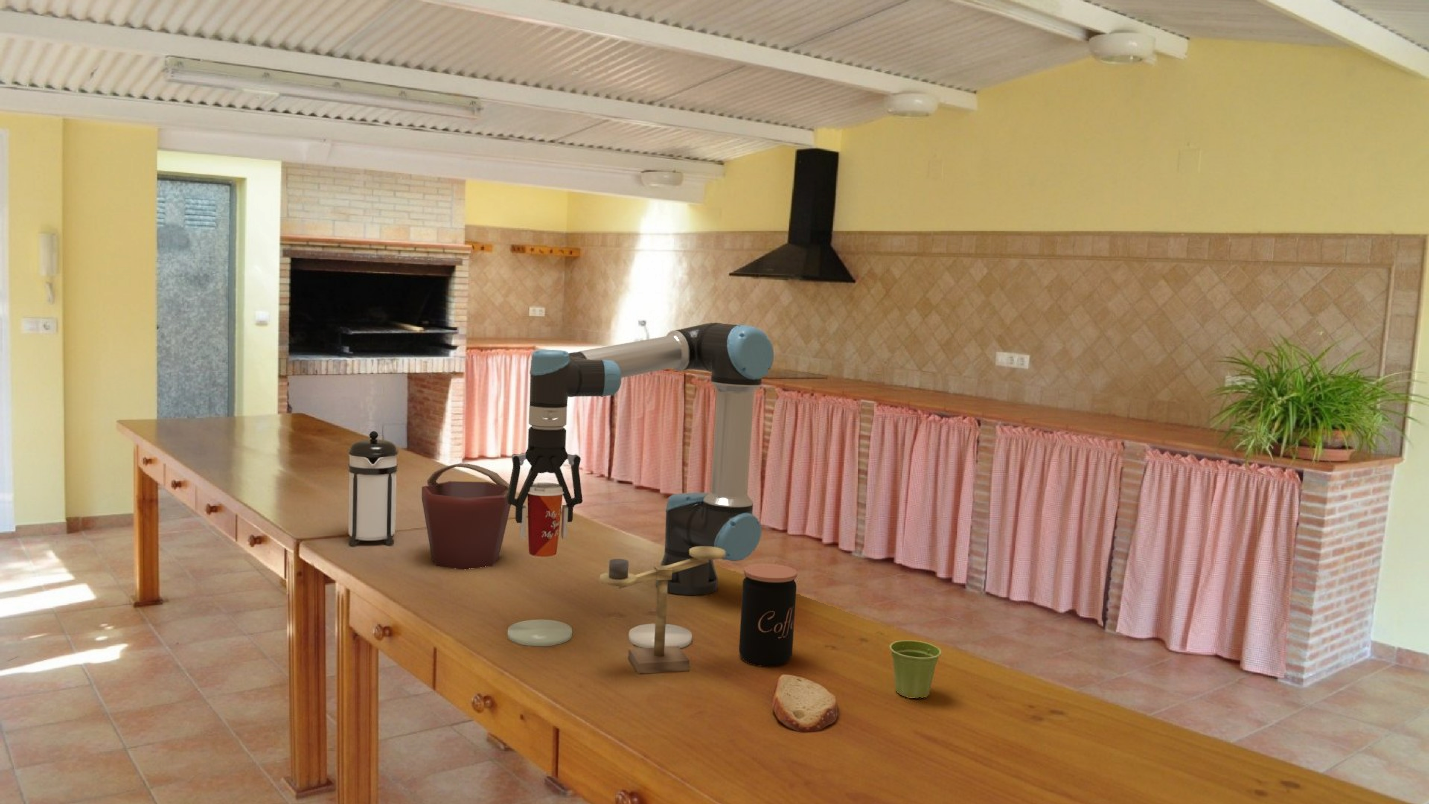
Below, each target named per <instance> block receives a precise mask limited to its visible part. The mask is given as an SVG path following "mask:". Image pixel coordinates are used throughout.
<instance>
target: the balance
mask: <svg viewBox="0 0 1429 804" xmlns="http://www.w3.org/2000/svg"><path fill="white" fill-rule="evenodd" d="M725 552H726V551H725V550H723V549H721V548H717V547H710V546H698V547H693V548H690V550H689V555H690V556H692V557H694V558H691V559H687V560H684V561H681V562H677V563H674V564H671V565H667V566H660V565H653V566H654V567H653V569H652V570H646V571H644V572H641V573H638V574H633V573H632V572H631V573H630V572H629V563H630V562H629V560H627V559H623V558H612V559H610V560H609V562H608V572H604V573H602V574H600V575H599V583H600V584H603V585H606V586H610V587H611V586H612V587H618V589H620V590H621V589H623V588H627V587H631V586H633V585H637V584H641V583H644V582H648V581H650V580H654V579H655V580H656V579H657V587H656V601H655V603H656V604H655V623H654V624H655V639H654V648H642V647H638V648H628V661H629V662H630V663H631V665H632V667H633V668H634V669H635V671H636V673H637V674H638V675H639V674H640V673H643V674H656V673H670V672H671V673H672V672H689V671H690V659H689V658H688V657H687V655H686V654H685V653H684V651H683V650H682V648H679V646H672V647H664V646H665V627H666V624H667V623H666V622H667V607H668V605H667V604H668V601H667V600H668V592H667V587H668V580H672V573H674V572H678V571H681V570H684V569H688V568H691V567H694V566H698V565H701V564H704V563H708V562H709V560H713V561H714V560H720V559H721V558H724V557H725ZM721 560H722V559H721ZM640 675H641V674H640Z"/></svg>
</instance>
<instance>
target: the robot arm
mask: <svg viewBox="0 0 1429 804" xmlns="http://www.w3.org/2000/svg"><path fill="white" fill-rule="evenodd" d="M774 356H775V353H774V347H773V343H772V341H771V340H770V338H769V337H768V335H767V334H766V333H765V331H763V330H762V329H760V328H758V327H755V326H750V325H746V324H730V323H722V322H721V323H720V322H708V323H703V324H698V325H693V326H689V327H685V328H679V329H675V330H670V331H669V332H668V333H667V334H666V336H665V335H664V336H660V337H654V338H648V339H643V340H636V341H630V342H626V343H619V344H614V345H608V346H602V347H596V348H591V349H585V350H579V351H574V352H568V351H566V350H561V349H536V350H535V351H533V352H532V354H531V359H530V369H529V376H530V377H529V378H530V379H529V406H528V407H529V411H528V424H529V425H530V427H529V428H528V432H527V433H528V434H527V435H528V436H527V448H526V451H525V453H522V454H521V453H520V454H516V453H515V454H512V455H511V461H512V468H511V469H512V470H511V475H510V479H509V490H508V495H507V502H508V503H509V504H510V505H511V506H513V507H515V516H514V517H515V518H514V519H515V522H516V524H519V525H520V527H519V528H520V531H519V539H520V540H521V541H526V536H527V534H526V531H527V511H528V507H527V506H526V505H525V503H526V500H527V499H528V492H529V491H530V487H532V485H533V483H535V481H536V479H537V477H538V475H539V474H545V473H549V474H554V475H555V477H556V481H557V484H559V485H560V486H561V487H562V490H563V492H564V494H563V496H562V497H563V499H564V501H565V504H562V506H561V523H560V527H561V529H560V531H561V532H560V537H561V539H563V540H567V539H568V523H572V522H573V520H574V519H573V517H574V507H575V506H576V505H581V504H582V503H583V493H582V486H581V485H582V483H581V477H580V464H581V457H580V456H579V455H578V454H576V453H575V454H572V453H571V454H570V453H568V452H567V449H566V448H567V447H566V444H567V429H566V428H565V427H566V425H567V421H568V419H567V417H568V416H567V415H568V413H567V412H568V399H569V398H574V397H600V398H603V397H607V396H608V397H610V396H614V395H615V394H617V392H618V391H619V390H620V388H621V384H622V378H628V377H633V376H640V375H643V374H648V373H649V374H650V373H654V372H659V371H660V372H661V371H665V370H668V369H673V370H674V371H677V372H682V371H688V370H691V371H692V370H697V371H704V372H710V373H711V374H710V383H711V384H712V386H713V387H714V388H715V390H716V400H715V415H714V431H713V432H714V433H713V446H712V447H713V448H712V461H711V478H710V490H709V491H710V492H683V493H675V494H672V495H670V496H669V497H668V498H667V501H666V502H667V503H666V509H665V529H664V531H665V534H664V554H663V557H662V560H661V562H660V565H659V566H667V565H671V564H674V563H677V562H681V561H684V560H687V559H691V558H694V557H692V556H690V555H689V550H690V548H693V547H698V546H710V547H717V548H721V549H723V550H725V551H726V552H725V557H724V558H721V560H724V561H725V560H727V561H729V562H739V561H742V560H746V558H748V557H750V555H752V553H753V552H754V551H755V550H756V548H758V545H759V543H760V541H761V537H762V525H761V522H760V521H759V519H758V517H757V516H755V515H754V514H753V513H754V512H753V511H754V510H753V509H754V501H753V499H751V498H750V497H749V495H748V489H749V487H748V486H749V475H750V474H749V472H750V458H751V447H752V446H751V442H752V428H753V415H754V414H753V413H754V401H755V392H756V391H757V390H758V389H759V388H761V387H762V382H763V381H762V379H763V377H766V375H768V373H769V370H771V369H772V367H773V363H774ZM526 460H527V462H528V464H529V465H530V469H529V471H528V474H527V476H526V479H524V480H525V481H524V483H523V484H522V487H521V489H520V491H519V494H518V496H517V498H516V493H517V489H518V484H519V479H520V473H521V466H523V465H524V464H525V461H526ZM566 461H568V464H569V465H570V471H571V472H570V473H571V479H572V488H573V495H574V496H573V497H572V495H571V493H570V490H569V488H568V485H567V483H566V479H565V478H564V474H563V472H562V468H561V467H562V466H563V465H564V463H565V462H566ZM718 583H719V579H718V574H717V571H716V567H715V563H714V560H709V562H708V563H704V564H701V565H698V566H694V567H691V568H688V569H684V570H681V571H678V572H674V573H672V580H668V587H667V593H668V594H669V593H670V594H675V595H684V596H691V595H692V596H698V595H706V594H711V593H713V592H715V591H716V590H718ZM655 586H656V588H657V579H656V578H655Z"/></svg>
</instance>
